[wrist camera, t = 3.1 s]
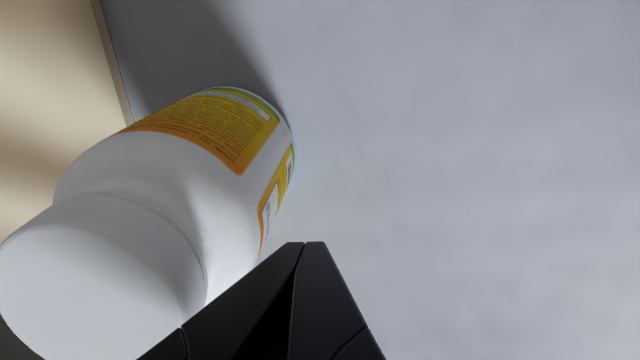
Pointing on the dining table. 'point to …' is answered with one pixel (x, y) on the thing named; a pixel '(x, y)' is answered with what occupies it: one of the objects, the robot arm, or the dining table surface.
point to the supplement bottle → (148, 228)
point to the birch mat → (52, 98)
